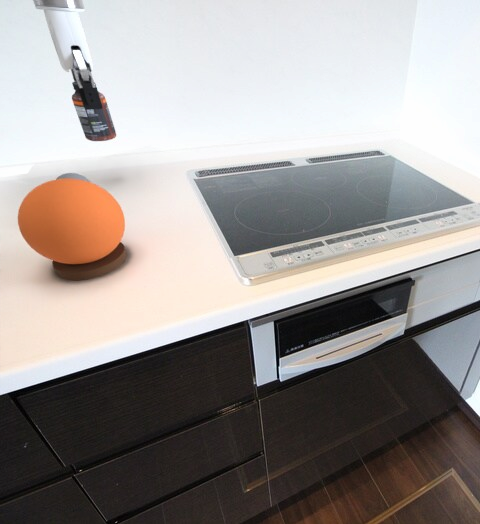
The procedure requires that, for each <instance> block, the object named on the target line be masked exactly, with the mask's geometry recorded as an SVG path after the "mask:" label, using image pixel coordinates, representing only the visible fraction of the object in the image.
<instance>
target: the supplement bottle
mask: <svg viewBox="0 0 480 524" xmlns="http://www.w3.org/2000/svg"><path fill="white" fill-rule="evenodd" d="M94 83H95V87H97V84H96V82H95V81H94ZM71 84H72V88H73V90H75V91H74V93H73V94H72V95H71V100H72V103H73V106H74V109H75V112H76V114H77V117H78V121H79V123H80V126H81V129H82V131H83V134H84V137H85V139H86V140H88V141H91V142H107V141H110V140H113V139H115V138H116V137H117V132H116V129H115V125H114V122H113V119H112V116H111V112H110V109H109V106H108V105H109V104H108V101H107V100H106V97H105V95H104V94H103V93H102V92H100V91H98V93H99V97H100V100H101V103H102V107H103V108H102V109H91V110H86V109H85V108H84V106H83V103H82V100H81V97H80V94H79V91H78V88H79V86H78V83H77V81H76V82H75V81H72V83H71Z"/></svg>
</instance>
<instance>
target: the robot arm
mask: <svg viewBox="0 0 480 524" xmlns="http://www.w3.org/2000/svg"><path fill="white" fill-rule="evenodd" d="M32 1H33V4H34V6H35V9H36V10H43V13H44V17H45V20H46V24H47V27H48V30H49V35H50V37H51V41H52V43H53V46H54V48H55V52H56V54H57V57H58V61H59V64H60V66H61V68H62V69H63V71H65V72H67V73H69V72H70V73H71V76H72V79H73V82H76V81H77V83H78V86H79V88H78V91H79V94H80V97H81V100H82V103H83V106H84V108H85V109H86V110H91V109H102V108H103V107H102V103H101V100H100V97H99V93H98V92H99V90H98V87H97V86H96V87H95V84H96V82H95V81H94V78H93V75H92V72H93V71H94V70H95V68H94V67H95V66H94V63H93V60H92V55H91V51H90V47H89V44H88V39H87V37H86V36H87V35H86V33H85V30H84V26H83V23H82V20H81V16H80V13H85V12H86V9H85V6H84V3H83V0H32ZM94 82H95V83H94Z"/></svg>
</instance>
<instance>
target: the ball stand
mask: <svg viewBox="0 0 480 524" xmlns="http://www.w3.org/2000/svg"><path fill="white" fill-rule="evenodd" d="M17 225H18V229H19V232H20V234H21V236H22V239H24V241H25V242H26V244H27V245H28V246H29V247H30V248H31V249H32V250H34V251H35V252H36V253H37V254H39V255H40V256H42V257H43V258H46V259H48V260H50V261H51V264H52V267H53V269H54V272H55V273H56V274H57V276H58V277H59V278H61V279H64V280H67V281H68V280H69V281H86V280H92V279H95V278H100V277H102V276H105V275H107V274H110V273H112V272H114V271H116V270H117V269H119V267H121V266H122V265H123V264H124V263H125V261H126V260H127V258H128V253H127V250H126V248H125V245H124V243H123V242H121V241H122V239H123V237H124V233H125V230H126V229H125V228H126V219H125V215H124V212H123V209H122V207H121V205H120V203H119V202H118V201H117V200H116V198H115V197H114V196H113V195H112V194H111V193H110V192H109V191H107V189H104V188H103V187H101V186H100V185H98V184H96V183H93V182H91V181H90V182H88V181H84V180H79V179H70V178H66V179H57V178H55V179H51V180H48V181H45V182H43V183H41V184H39V185H37V186H35V187H34V188H33V189H31V190H30V191H29V192H28V193H27V194H26V196H25V197H24V198H23V200H22V201H21V203H20V205H19V207H18V211H17Z"/></svg>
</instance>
